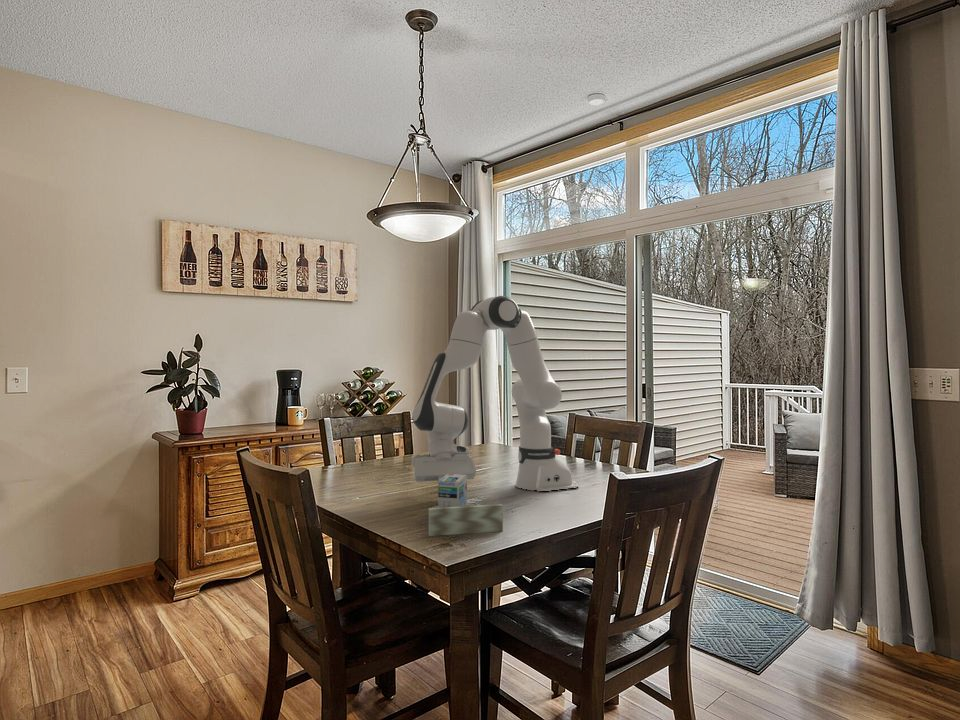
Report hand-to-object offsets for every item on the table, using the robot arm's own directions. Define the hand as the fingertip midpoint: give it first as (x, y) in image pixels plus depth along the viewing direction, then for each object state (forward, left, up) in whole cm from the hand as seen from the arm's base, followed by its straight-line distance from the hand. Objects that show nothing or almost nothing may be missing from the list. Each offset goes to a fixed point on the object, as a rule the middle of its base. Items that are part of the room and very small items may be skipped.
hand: (447, 490), depth 183 cm
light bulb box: (0, +10, -5) cm, 11 cm away
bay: (0, +22, -4) cm, 22 cm away
